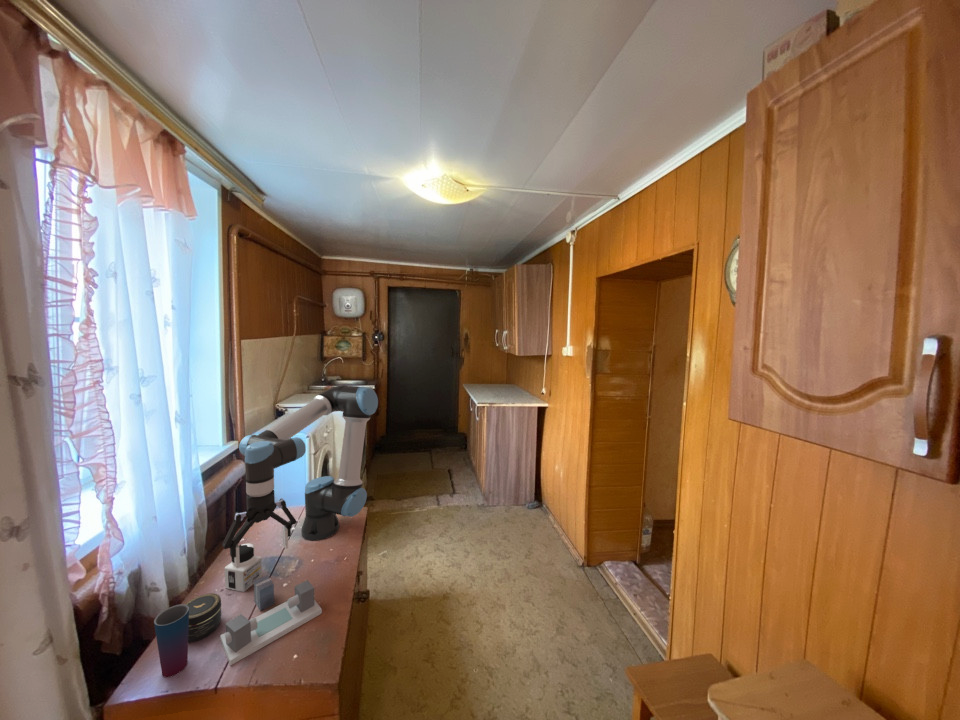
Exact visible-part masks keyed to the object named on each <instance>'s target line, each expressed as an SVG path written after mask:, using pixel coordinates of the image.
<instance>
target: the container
mask: <svg viewBox="0 0 960 720" xmlns="http://www.w3.org/2000/svg"><path fill="white" fill-rule="evenodd" d="M238 546H239V558H240V567H239V568H236V566H235V563H234V558H232V557H231V562H230V563H229V564H227V565H226V566H225V567H224V584H225V585H224V587H225V589H228V590H233V591H237V592H241V593H242V592H243V593H245V592H246V591H247V590H248V589H249V588H251V587H252V586H254V581H255V580H257V579H259V578H261V577H263V572H262V568H263V567H262V557H261V556H258V555H255V545H254V544H252V543H242V544H240V545H239V544H238Z"/></svg>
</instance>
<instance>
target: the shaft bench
mask: <svg viewBox="0 0 960 720" xmlns="http://www.w3.org/2000/svg"><path fill="white" fill-rule="evenodd" d="M321 614H323V609H322V608H321V606H320V604H319V603H318V602H317V601H316V600H315V587H314V586H313V584H312V583H311V582H310V581H309V580H308V579H307V580H305V581H302V582H300V583H298V584H296V585H294V595H293V596H291V597H289V598H288V599H287V601H285V602H283V603H280V604H279V605H277V606H275V607H273V608H271V609H269V610H267V611H265V612H263V613H261V614H259V615H257V616H255V617H253V618H251V619H248V618H247V617H246V616H245V615H243V614H242V613H240V614H239V615H237V616H236V617H234V618H232V619H231V620H229V621H228V622H226V623H225V632H224V633H222V634H220V635H219V640H220V643H221V646H222V648H223V651H224V653H225V655H226V659H227V661H228V664H229V666H232V665H234V664H236V663H237V662H239V661H241V660H243V659H245V658H247V657H248V656H250V655H252V654H254V653H255V652H258V651H259V650H260V649H263V648H264V647H265V646H267V645H269V644H271V643H273V642H274V641H277V639H280V638H281V637H283V636H285V635H286V634H288V633H290V632H292V631H293V630H296V629H297V628H299V627H300V626H301V627H302V625H304V624H306V623H307V622H309V621H311V620H313V619H315V618H316V617H318V616H320V615H321Z"/></svg>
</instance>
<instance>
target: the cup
mask: <svg viewBox="0 0 960 720" xmlns="http://www.w3.org/2000/svg"><path fill="white" fill-rule="evenodd" d="M185 604H186V603H185ZM185 604H183V603H181V604H176V605H173V606H170V607H167V608H166V609H164V610H163V611H161V612H160V613H158V615H156V617H155V618H154V620H153V624H154V625H153V626H154V630H155V638H156V642H157V649H158V656H159V662H160V668H161V669H160V670H161V676H162V677H163V678H172V677H173V676H177V675H178V674H180V673H181V672H183V670H184V669H185V668H186V666H187V665H188V662H189V661H188V659H189V658H188V657H189V656H188V655H189V654H188V653H189V642H188V629H189V607H188V606H187V605H185ZM171 676H172V677H171Z"/></svg>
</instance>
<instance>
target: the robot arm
mask: <svg viewBox="0 0 960 720" xmlns="http://www.w3.org/2000/svg"><path fill="white" fill-rule="evenodd" d="M378 406H379V399H378V395H377V393H376V391H375V390H374V389H372V388H371V387H368V386H357V385H346V384H345V385H344V384H343V385H341V384H339V385H335V386H333V387H331V388H328V389H326V390H323V391H322V392H320V393H319V394H317V395H315V396H314V397H313V399H312V401H310V402H309V403H307V404H305V405H304V406H302V407H300V408H299V409H298V410H296V411H294V412H293V413H291V414H289V415H288V416H286V417H284V418H283V419H282V420H280V421H278V422H277V423H275V424H273V425H272V426H270V427H269V428H267V429H265V430H264V431H262V432H260V433H258V434H249V435H246V436H244V437H243V438H242V439H241V441H240V442H239V445H238V449H239V452H240V454H241V455H243V456H244V466H245V485H246V486H245V492H246V496H245V497H246V509H245V511H243V512H239V511H236V512H234V516H233V521H232V523H231V525H230V527H229V529H228V531H227V533H226V536H225V538H224V539H223V542H222V544H221V545H222V547H223V549H224V550H228V549H229V556H230V557H231V559H232V558H234V563H235V566H236V568H239V567H240V558H239V543H240V542H241V541H242V539H243V538H244V536H246V534H247V532H248V531H249V529H250V528H251V527H253V526H254V524H255V523H256V524H258V523H261V522H263V521H267V520H268V519H269V518H272V519H273V520H275V521H277V522H278V523H279V524H280V525H283V526H282V527H281V528H282V532H281V533H282V534H281V535H282V546H283V547H284V549H288V548H289V538H290V537H291V535H292V531H291V529H292V528H293V525H296V524H297V523H298V522H297V520H296V518H295V517H294V515H293V514H292V513H291V511H290V510H289V508H288V507H287V504H286V503H287V502H286V500H284V498H280V499H279V500H277V501H275V498H276V497H275V469H277V468H279V467H282V466H284V465H287V464H289V463H291V462H295V461H296V460H298V459H301V458H302V457H304V456H305V454H306V450H307V449H306V448H307V446H306V443H305V442H304V440H303V439H302V438H301V437H294V436H296V435H297V434H298V433H300V432H301V431H303V430H304V429H306V428H307V427H309V426H310V425H311V424H313V423H315V422H316V421H317V420H319V419H320V418H322V417H323V416H328V415H330V414H332V413H334V412H341V413H342V418H343V419H344V420H345V423H344V431H343V438H342V446H341V454H340V461H339V469H338V476H337V478H336V479H335V478H334V477H333V476H330V475H325V476H320V477H316V478H313V479H311V480H310V481H308V482H307V483H306V484H305V487H304V505H305V506H304V508H305V517H304V520H303V522H302V526H301V529H300V531H301V534H300V535H301V538H303V539H304V540H308V541H321V540H324V539H328V538H330V537H331V536H333V535H335V534H336V533H338V531H339V528H340V522H339V518H338V516H337V515H339V516H342V517H349V518H350V517H354V516H356V515H358V514H359V513H360V512H361V511H362V509H364V506H365V504H366V502H367V497H368V493H367V490H366V489H365V488H363V482H364V481H363V480H362V479H361V477H360V476H361V467H362V460H363V454H364V453H363V452H364V444H365V437H366V436H365V435H366V428H367V427H366V426H367V422H368V421H370V419H371V417H372V415H373V414H375V413H376V411H377V409H378V408H379V407H378ZM277 507H278V508H279V509H281V510H282V511H283V513H284V515H286V516H287V518H288V519H289V520H286V519H284V518H283V517H282V516H281V515H279V514H277V513H276V512H275V510H276V508H277ZM245 517H246V519H245V520H244V518H245ZM243 520H244V523H243V524H242V526H241V527H240V525H241V522H242V521H243ZM239 527H240V528H239ZM238 529H239V530H238Z"/></svg>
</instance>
